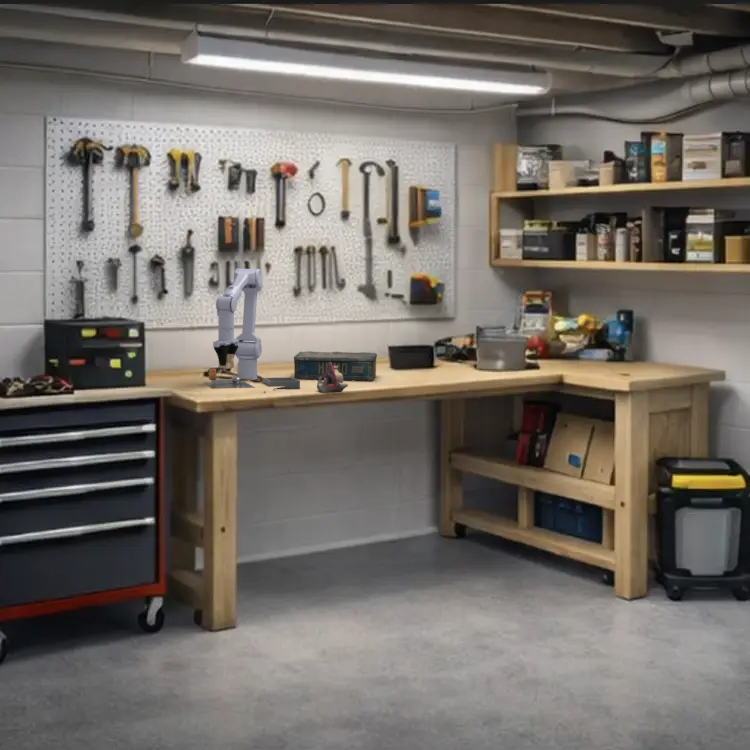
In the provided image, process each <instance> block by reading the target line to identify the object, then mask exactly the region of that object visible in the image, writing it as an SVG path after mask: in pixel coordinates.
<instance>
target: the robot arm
mask: <svg viewBox="0 0 750 750" xmlns="http://www.w3.org/2000/svg"><path fill="white" fill-rule="evenodd" d="M262 287H263V274H262V270H261V269H260V268H239V267H236V269H235V270H234V272H233V282H232V285H231V284H230V285H228V287H227V288H226V290H225V291H224V293H223V294H222V295H221V296H218V297H217V299H216V301H215V308H216V315H217V317H218V334H217V335H218V340H216V341H212V342H213V344H212V345H213V346H212V347H213V350H214V351H215V353H216V355H217V358H218V364H219V363H220V365H221V366H225V365H226V358H227V354H234V356H235V357H236V358H237V359H238V361H237V367H236V368H237V370H236V371H237V374H236V375H237V376H236V377H241V380H252V381H256V380H255V379H258V359H259V358H260V357H261V355H262V350H263V349H262V340H261V337H259V336H258V335H257V334H256V320H257V319H256V316H257V300H258V292H259V291H262ZM242 292H243V293H244V299H243V317H242V330H241V333H240V334H239V335H238V336H236V338H235V312H236V311H237V306H238V301H239V299H240V297H241V296H242Z"/></svg>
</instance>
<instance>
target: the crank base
mask: <svg viewBox="0 0 750 750" xmlns="http://www.w3.org/2000/svg"><path fill="white" fill-rule="evenodd" d="M202 383H203V384H204V385H206V386H207V387H209V388H210V389H213V390H215V389H216V390H217V389H218V390H219V389H251V388H252V389H255V388H256V387H255V386H253V385H251V384H250V383H247V382H246V381H241V383H211V381H209V382H208V381H207V382H206V381H205V382H202Z"/></svg>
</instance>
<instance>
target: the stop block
mask: <svg viewBox="0 0 750 750" xmlns="http://www.w3.org/2000/svg"><path fill="white" fill-rule="evenodd" d="M234 358H235V355H234V354H227V358H226V365H225V366H221V365H220V363H219V362H218V369H225V370H226V369H227V370H229V369H233V368H234V363H235V362H234Z"/></svg>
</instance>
